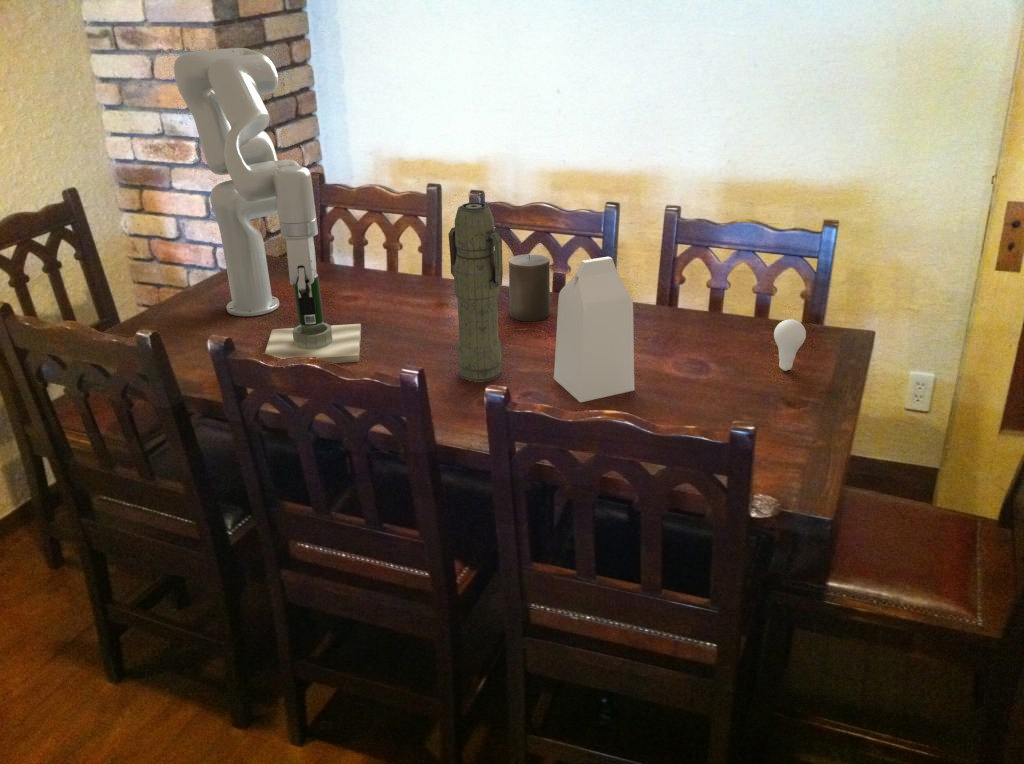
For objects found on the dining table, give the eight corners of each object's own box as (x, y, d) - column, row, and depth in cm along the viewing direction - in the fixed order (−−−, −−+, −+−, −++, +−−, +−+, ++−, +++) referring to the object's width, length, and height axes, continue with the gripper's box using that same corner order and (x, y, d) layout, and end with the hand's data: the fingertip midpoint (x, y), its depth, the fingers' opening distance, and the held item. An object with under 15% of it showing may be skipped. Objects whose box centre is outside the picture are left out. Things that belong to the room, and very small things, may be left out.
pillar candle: (550, 321, 203) (550, 260, 196) (508, 322, 203) (507, 260, 197) (549, 307, 212) (549, 248, 205) (509, 307, 212) (508, 248, 206)
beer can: (325, 326, 187) (319, 273, 182) (300, 330, 186) (293, 277, 180) (322, 318, 192) (315, 266, 187) (297, 321, 190) (290, 269, 185)
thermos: (466, 359, 184) (459, 197, 169) (515, 370, 179) (512, 203, 164) (443, 375, 177) (434, 207, 162) (493, 387, 172) (488, 214, 157)
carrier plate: (273, 335, 198) (270, 317, 196) (361, 329, 200) (359, 311, 198) (263, 368, 182) (259, 348, 180) (358, 361, 184) (356, 342, 182)
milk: (580, 402, 166) (582, 273, 154) (553, 378, 175) (554, 255, 164) (634, 390, 170) (640, 263, 158) (605, 368, 179) (609, 247, 168)
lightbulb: (795, 379, 173) (803, 328, 168) (765, 372, 176) (771, 322, 171) (804, 367, 178) (811, 318, 173) (774, 361, 181) (780, 312, 176)
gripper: (284, 218, 187) (295, 297, 195) (275, 240, 171) (287, 325, 179) (320, 216, 187) (329, 295, 195) (314, 238, 172) (324, 322, 180)
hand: (309, 308), depth 187 cm, fingers closed on beer can, 5 cm apart
